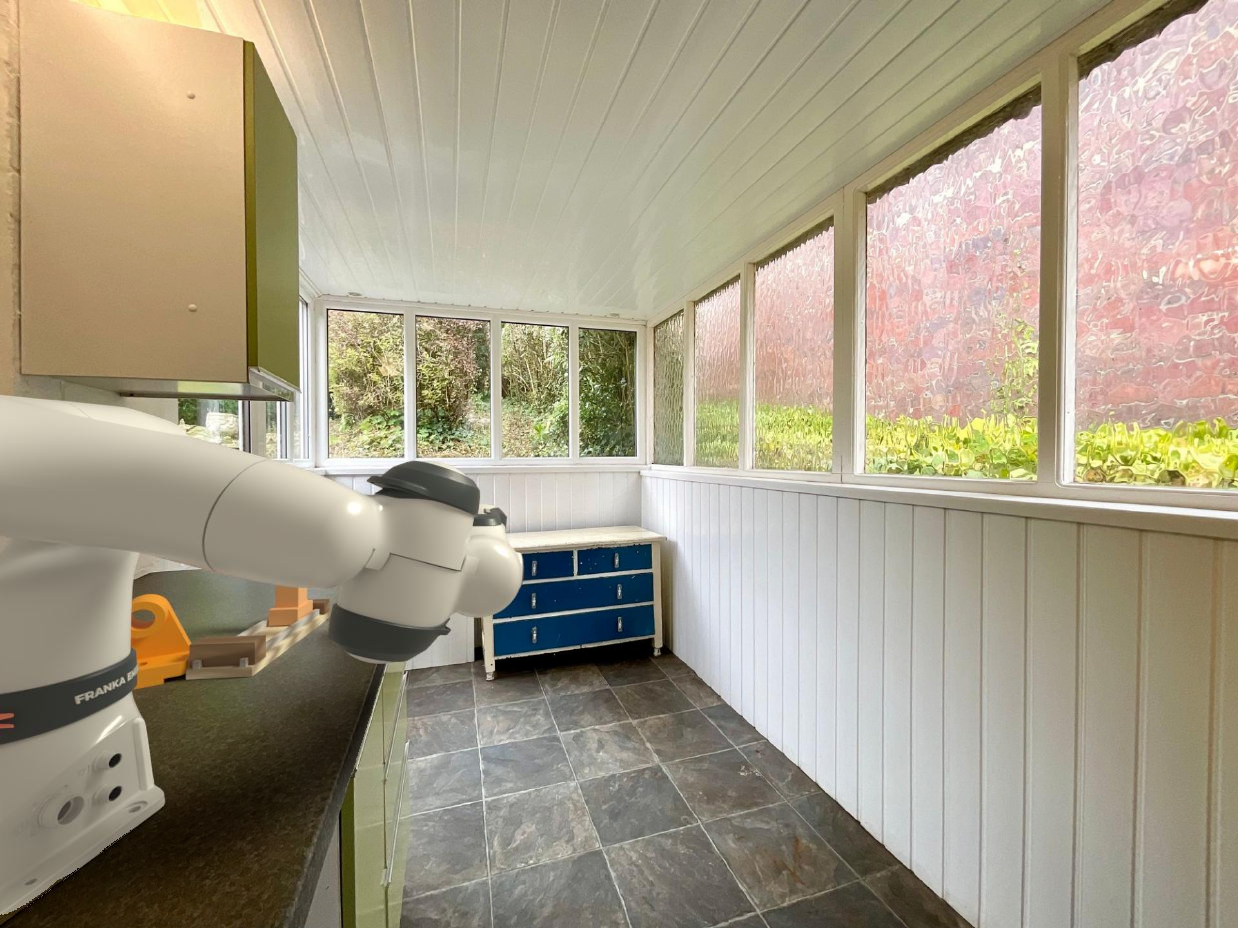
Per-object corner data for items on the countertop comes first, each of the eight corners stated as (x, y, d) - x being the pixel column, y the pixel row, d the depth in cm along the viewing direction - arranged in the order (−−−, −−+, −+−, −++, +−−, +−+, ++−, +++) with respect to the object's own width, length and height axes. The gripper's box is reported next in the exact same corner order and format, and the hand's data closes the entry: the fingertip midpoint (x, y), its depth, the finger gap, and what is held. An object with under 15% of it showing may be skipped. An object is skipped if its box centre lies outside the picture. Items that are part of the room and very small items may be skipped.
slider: (297, 624, 91) (298, 556, 91) (268, 625, 90) (268, 556, 90) (312, 614, 97) (313, 550, 97) (285, 615, 96) (286, 550, 96)
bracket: (82, 699, 66) (82, 613, 66) (97, 679, 72) (97, 599, 72) (186, 679, 73) (187, 600, 72) (192, 662, 78) (193, 589, 78)
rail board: (252, 676, 74) (252, 643, 74) (185, 679, 72) (185, 646, 72) (330, 617, 100) (330, 593, 100) (282, 619, 99) (282, 594, 99)
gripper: (431, 602, 88) (350, 605, 86) (452, 575, 109) (387, 576, 106) (431, 568, 88) (350, 570, 86) (452, 547, 108) (387, 548, 106)
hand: (371, 573), depth 96 cm, fingers open, 8 cm apart
